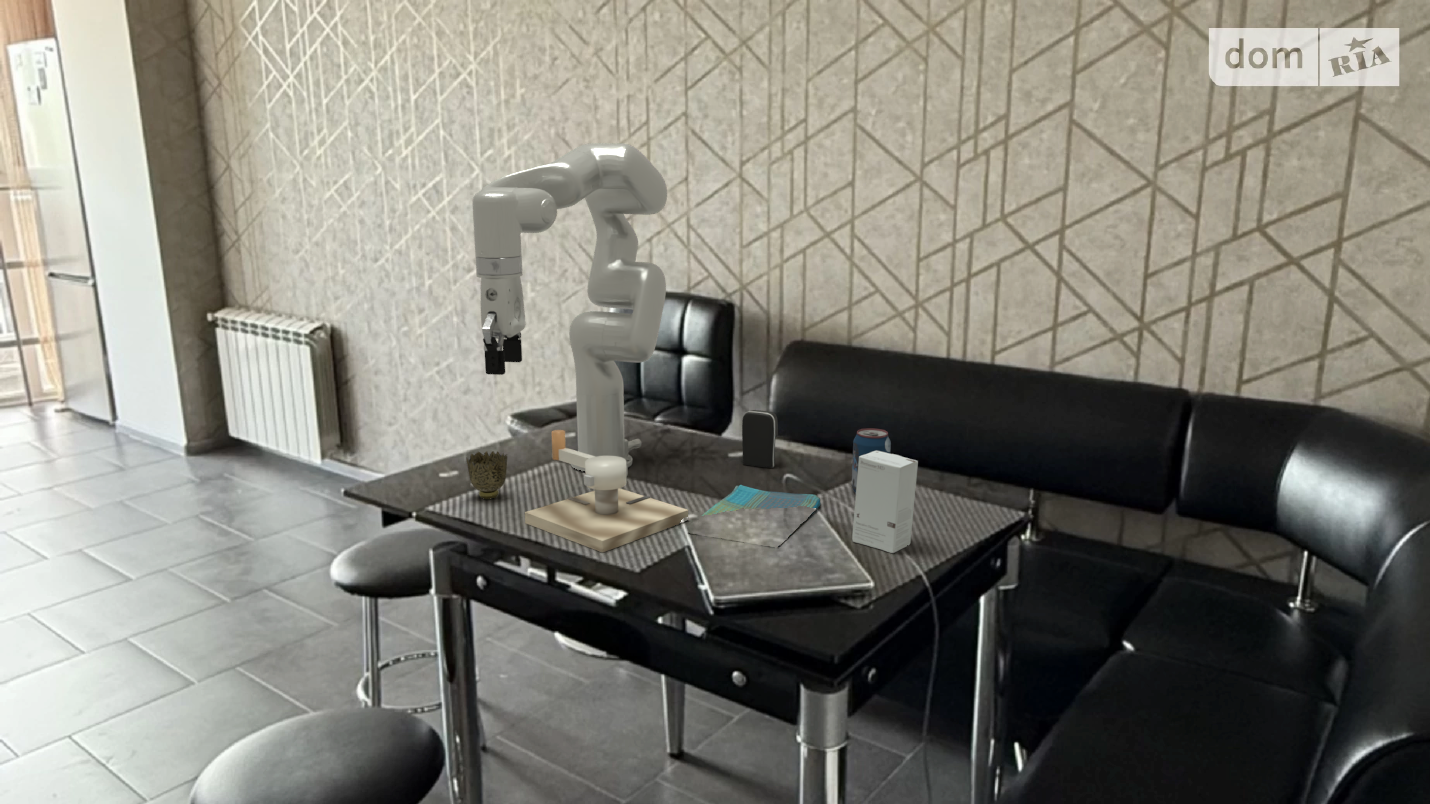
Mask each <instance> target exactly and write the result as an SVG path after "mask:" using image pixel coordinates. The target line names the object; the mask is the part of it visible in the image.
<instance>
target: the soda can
mask: <svg viewBox="0 0 1430 804" xmlns="http://www.w3.org/2000/svg"><path fill="white" fill-rule="evenodd" d="M891 442H892V441H891V439H890V438H889V432H888V430H887V431H886V430H885V429H880V428H872V427H871V428H861V429H858V430H857V431H856V435H855V437H854V439H853V440H852V444H853V445H852V465H851V466H852V467H851V468H852V469H851V471H852V472H851V473H852V474H851V488H852V490H853V492H854V493H855V495H856V486H857V475H858V464H859V456H862V455H865V454H868V453H870V452H873V451H881V452H885V453H889V454H891V450H892V449H891V445H892V443H891Z"/></svg>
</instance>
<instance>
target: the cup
mask: <svg viewBox="0 0 1430 804" xmlns="http://www.w3.org/2000/svg"><path fill="white" fill-rule="evenodd" d="M465 459H466V464H467V465H466V466H467V470H468V476H469V480H470V483H471V485H472V486H473V487H472V488H474V489H475V490H477V491H478V495H479V497H480V499H482V498H484V499H483V500H491V499H490V498H494V499H496V498H498V496H499V493H500V491H499V489H501V488H502V487H503V486H504V484H505V482H506V478H507V467H508V453H506V454H505V452H502V454H501V453H500V452H499V451H498V450H497V451H496V452H495V451H494V450H492V451H491V452H490V453H489V451H488V450H486V451H485V452H484V454H483V453H482V452H480V451H477V452H475V453H474V454H473V453H470V454H469V458H468V457H466V458H465Z"/></svg>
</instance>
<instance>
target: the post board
mask: <svg viewBox="0 0 1430 804" xmlns="http://www.w3.org/2000/svg"><path fill="white" fill-rule="evenodd" d="M685 517H688V518H689V510H688V509H687V508H683V507H680V506H677V505H674V504H670V503H668V502H664V501H662V500H661V501H660V500H658V499H655V498H652V497H651V496H649V495H641V494H639V493H636V492H633V491H629V490H627V489H624V488H623V489H622V488H618V489H613V490H596V489H594V490H592V491H589V492H586V493H582V494H579V495H576V496H570V497H567V498H566V499H563V500H560V501H556V502H553V503H550V504H546V505H544V506H540V507H537V508H534V509H531V510H528V511H524V524H526V525H529V526H532V527H534V528H537V529H539V530H542V531H545V532H548V533H550V534H551V535H554V536H555V535H556V536H558V537H560V538H563V539H566V540H568V541H571V542H573V543H576V544H579V545H582V546H584V547H587V548H589V549H593V550H594V551H598V552H600V553H605V552H609V551H611V550H613V549H616V548H618V547H621V546H624V545H627V544H629V543H630V544H631V543H632V542H636V541H638V540H639V539H642V538H646V537H648V536H651V535H654V534H656V533H659V532H663V531H665V530H667V528H668V529H670V528H672V527H673V528H674V527H675V525H676V526H678V525H680V524H679V523H680V522H681V520H682V519H683V518H685Z"/></svg>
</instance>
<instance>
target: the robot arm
mask: <svg viewBox="0 0 1430 804" xmlns="http://www.w3.org/2000/svg"><path fill="white" fill-rule="evenodd" d="M667 198H668V188H667V184H666V180H665V179H664V177H663V176H662V174H661V172H660V171H659V170H658V169H657V168H656V166H655V165H653V163H652V162H651V161H650V160H649V159H648V157H647V156H645V155H644V153H642V151H640V150H639V149H638V148H637V147H635V146H634V145H631V144H629V143H617V142H616V143H613V142H612V143H604V142H603V143H601V142H600V143H599V142H598V143H594V142H593V143H586V144H585V143H584V144H581V145H579V146H577V147H575V148H574V149H572V150H570V151H569V152H567V153H565V154H564V155H562V156H561V157H559V158H557V159H555V160H553V161H551V162H550V163H546V164H541V165H538V166H534V167H532V168H528V169H526V170H525V169H524V170H520V171H517V172H513V173H509V174H507V175H504V176H501V177H498V178H497V179H496V180H495V179H494V180H493V181H491V182H489V183H488V184H487V185H485V186H484V187H482V188H481V189H480V190H479V192H477V193H475V195H473V198H472V219H473V220H472V221H473V222H472V223H473V236H474V237H473V238H474V254H475V269H476V270H475V271H476V277H477V278H480V323H481V333H482V336H483V339H482V342H483V351H484V365H485V374H486V375H496V376H497V375H499V376H501V375H502V376H503V375H505V374H506V363H521V362H522V361H523V353H522V352H523V351H522V350H523V349H522V331H523V330H524V329H525V328H526V314H525V312H526V311H525V302H524V294H523V293H524V291H523V285H522V279H521V277H522V276H523V256H522V237H521V234H523V233H524V234H539V233H543V232H545V231H547V230H548V229H550V228H551V227H552V226H553V225H554V223H555V221H556V218H557V215H558V210H561V209H567V208H570V207H572V206H575V205H576V204H578V203H580V202H581V201H582V200H585V202H586V204H587V207H588V209H589V212H590V214H591V217H592V221H593V224H594V227H595V232H596V242H595V248H594V251H593V259H592V263H591V267H590V272H589V277H588V282H587V296H588V299H589V301H590V302H591V303H592V304H594V305H595V306H598V307H602V308H611V309H623V310H632V313H628V312H627V313H625V312H612V311H598V310H595V311H593V310H592V311H585V312H582V313H580V314H578V315H576V316H575V317H574V318H573V320H572V321H571V324H570V326H569V331H568V332H569V343H570V348H571V352H572V358H573V363H574V368H575V369H574V371H575V388H576V389H575V390H576V391H575V394H576V396H575V397H576V425H577V426H576V427H577V428H576V429H577V451H579V452H582V453H585V454H589V455H592V456H596V457H597V456H618V457H622V458H624V459H625V460H626V466H627V469H629V468H630V467H631V466H632V465H633V457H632V456H631V455H630V454H629V453H630V452H631V451H632V450H635V449H638V448H641V447H642V441H641V439H640V438H636V439H632V440H628V439H627V438H625V405H624V404H625V401H624V399H625V398H624V397H625V396H624V392H625V391H624V379H623V376H622V373H621V370H620V369H619V367H618V365H617V364H616V362H625V363H644V362H647V361H649V360H650V359H651V358H652V356H653V355H654V351H655V349H656V346H657V342H658V338H659V337H658V336H659V333H660V332H659V331H660V326H661V323H662V316H663V310H664V306H665V301H666V294H667V282H666V277H665V273H664V272H663V269H661V267H660V266H659V265H657V264H655V263H652V262H646V261H645V262H643V261H636V260H637V255H638V254H637V253H638V249H639V239H638V236H637V234H636V232H635V229H634V228H633V226H632V225H631V223H630V221H629V220H628V219H627V218H626V215H639V216H640V215H645V216H648V215H649V216H651V215H656V214H657V213H660V212H661V211H662V210H663V209H664V207H665V206H666V203H667V200H668V199H667ZM615 361H616V362H615ZM570 466H571V467H572V469H574V468H575V469H574V470H576V469H577V471H579V470H581V471H580V472H583V471H585V468H583V467H579V466H576V465H573V464H570Z"/></svg>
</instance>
